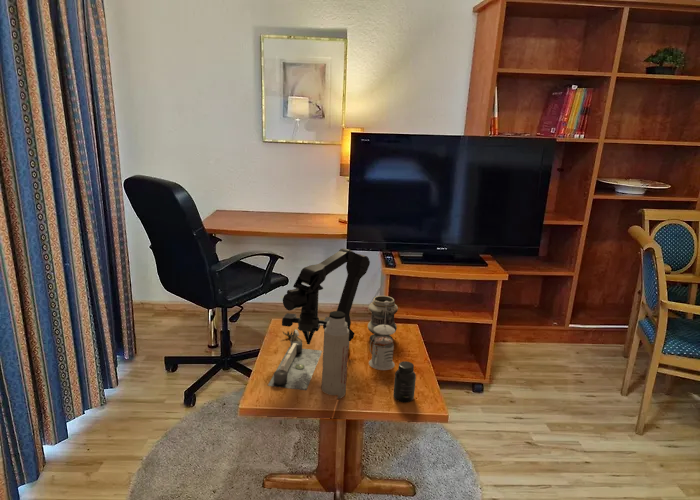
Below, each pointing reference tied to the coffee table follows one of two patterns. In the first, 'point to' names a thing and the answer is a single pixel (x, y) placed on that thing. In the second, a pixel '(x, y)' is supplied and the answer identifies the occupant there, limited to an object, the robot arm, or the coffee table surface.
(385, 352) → the french press
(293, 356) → the knob
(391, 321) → the apothecary jar
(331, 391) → the thermos bottle
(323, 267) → the robot arm
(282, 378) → the knob
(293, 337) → the eagle figurine
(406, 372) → the supplement bottle
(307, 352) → the plate
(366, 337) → the coffee table surface
